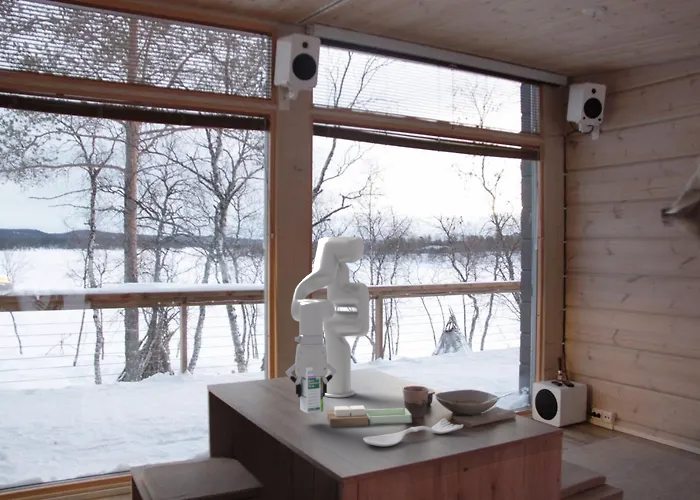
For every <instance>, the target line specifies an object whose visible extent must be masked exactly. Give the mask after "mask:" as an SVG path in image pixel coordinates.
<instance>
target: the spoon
mask: <svg viewBox="0 0 700 500" xmlns="http://www.w3.org/2000/svg"><path fill="white" fill-rule="evenodd" d="M463 427H464V423H463V424H454V423H451V421H449V420H447V418H446V417H445V418H442V419H440V420H439V421H438V422H437V423H436V424H434V425H433V426H432V427H428V426H426V425H421V426H420V425H419V426H410V427H409V428H407V429H403V430H401V431H398V432H393V433H386V434H385V433H384V434H379V435H371V436H370V435H369V436H365V437H363V441H364V442H365V443H366V444H368V445H372V446H376V447H382V448H383V447H384V448H386V447H391V446H394V445H397V444H398V443H400V442H401V441H402V440H403V438H404V437H405V435H406V434H407V435H408V434H409V433H415V432H418V431H428V432H430V433H434V434H439V435H441V434H446V433H450V432H454V431H457V430H460V429H462V428H463Z"/></svg>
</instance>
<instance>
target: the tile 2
mask: <svg viewBox="0 0 700 500" xmlns="http://www.w3.org/2000/svg"><path fill="white" fill-rule="evenodd" d="M349 409H350V414H351V416H358V415H365V410H366V408H365V406H364V405H349Z"/></svg>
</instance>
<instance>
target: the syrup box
mask: <svg viewBox="0 0 700 500" xmlns="http://www.w3.org/2000/svg"><path fill="white" fill-rule="evenodd" d="M312 369H313V368H312V367H306V377H302V379H301V380H300V385H301V397H299V403H300V404H299V407H300V408H299V410H300V411H302V412H303V413H305V414H313V413H314V414H315V413H322V412H324V397H323V377H315V376H313V371H312Z"/></svg>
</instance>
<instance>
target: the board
mask: <svg viewBox="0 0 700 500" xmlns="http://www.w3.org/2000/svg"><path fill="white" fill-rule="evenodd" d="M326 415H327V417H326V418H327V422H328V425H329V427H330V428H334V427H335V428H339V427H359V426H360V427H362V426H364V427H365V426H369V423H368V416H367V414H366V413H365V415H358V416H351V414H350V416H335V413H334V410H327V411H326Z"/></svg>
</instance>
